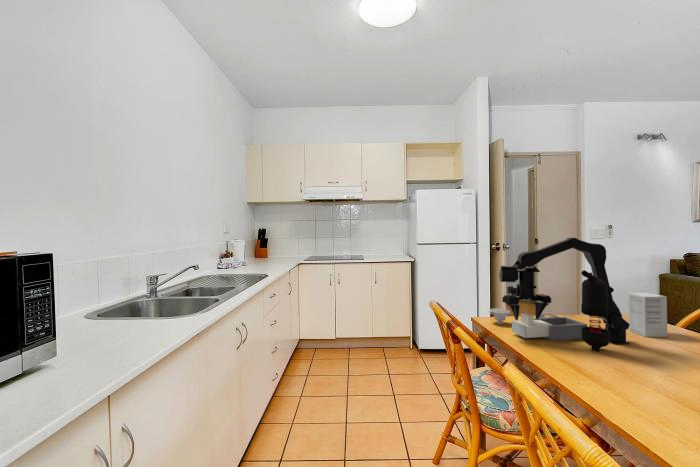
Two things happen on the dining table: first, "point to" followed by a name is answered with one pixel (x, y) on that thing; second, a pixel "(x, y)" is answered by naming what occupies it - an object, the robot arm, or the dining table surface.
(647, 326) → the supplement box
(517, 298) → the robot arm
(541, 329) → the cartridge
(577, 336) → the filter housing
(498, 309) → the showerhead
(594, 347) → the black tall rounded body
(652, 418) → the dining table surface
